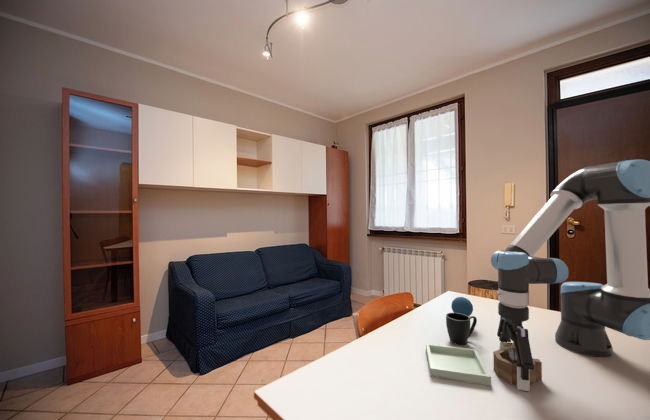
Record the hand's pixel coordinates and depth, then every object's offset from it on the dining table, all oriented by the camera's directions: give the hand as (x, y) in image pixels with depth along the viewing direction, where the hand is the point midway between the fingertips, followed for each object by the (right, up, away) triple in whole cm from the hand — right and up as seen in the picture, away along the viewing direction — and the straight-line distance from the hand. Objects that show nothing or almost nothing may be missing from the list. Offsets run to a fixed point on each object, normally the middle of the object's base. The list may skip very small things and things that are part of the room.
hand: (513, 375), depth 81 cm
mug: (-4, -1, +22) cm, 22 cm away
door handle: (0, 0, 0) cm, 0 cm away
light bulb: (+3, -1, +37) cm, 37 cm away
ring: (0, 0, 0) cm, 0 cm away
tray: (-15, 0, +5) cm, 16 cm away
